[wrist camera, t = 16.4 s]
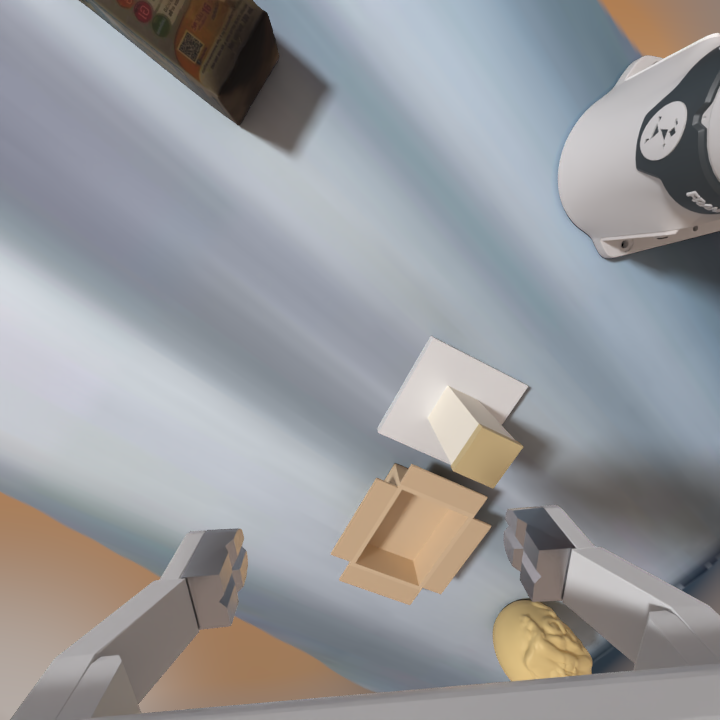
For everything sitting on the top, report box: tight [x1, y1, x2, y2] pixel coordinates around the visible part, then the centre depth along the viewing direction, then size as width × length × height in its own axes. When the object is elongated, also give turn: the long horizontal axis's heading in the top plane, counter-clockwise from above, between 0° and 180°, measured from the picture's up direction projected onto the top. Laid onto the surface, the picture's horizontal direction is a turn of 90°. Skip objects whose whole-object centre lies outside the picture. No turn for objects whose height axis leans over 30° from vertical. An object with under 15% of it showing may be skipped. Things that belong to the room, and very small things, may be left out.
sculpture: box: [493, 600, 592, 681], centre depth 50 cm, size 11×12×11 cm
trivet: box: [377, 336, 528, 465], centre depth 43 cm, size 14×14×1 cm
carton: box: [331, 463, 492, 605], centre depth 46 cm, size 17×20×4 cm
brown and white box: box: [428, 386, 523, 488], centre depth 37 cm, size 5×5×11 cm
